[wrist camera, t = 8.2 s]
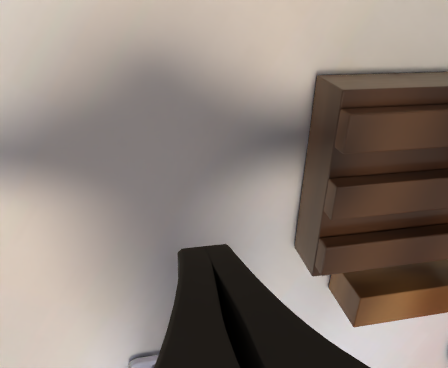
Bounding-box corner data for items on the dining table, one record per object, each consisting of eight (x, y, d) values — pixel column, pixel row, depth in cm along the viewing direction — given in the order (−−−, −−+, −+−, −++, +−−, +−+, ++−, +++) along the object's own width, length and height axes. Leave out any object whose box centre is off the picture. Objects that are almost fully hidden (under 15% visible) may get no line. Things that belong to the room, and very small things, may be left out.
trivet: (293, 247, 22) (319, 288, 19) (316, 74, 17) (353, 96, 15) (442, 229, 23) (485, 265, 21) (495, 70, 19) (558, 88, 16)
